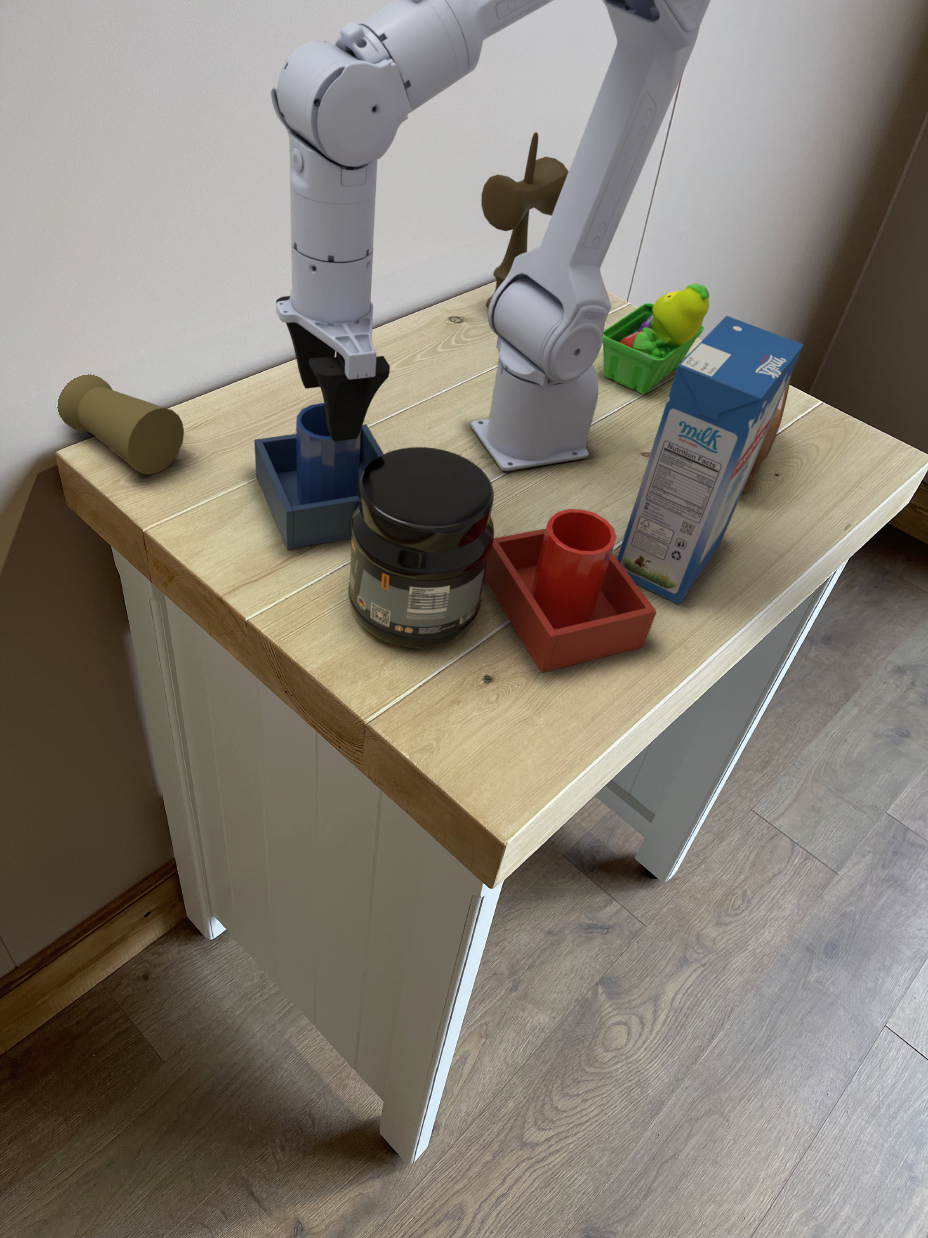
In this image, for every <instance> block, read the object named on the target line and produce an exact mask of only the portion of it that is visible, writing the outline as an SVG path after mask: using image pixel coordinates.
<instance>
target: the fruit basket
mask: <svg viewBox="0 0 928 1238" xmlns="http://www.w3.org/2000/svg"><path fill="white" fill-rule="evenodd" d="M709 299H710V292H709V290H708V288H707V287H706V286H705V285H704V284H699V283H691V284H688V285H687V286H686V287H685V288H684V289H681V290H676V291H674V290H673V291H671V292H668V293H665V294H663V295H661V296H660V297H658V298H657V299H656V300H655V302H654V303H649V302H645V303H643V304H641V305H640V306H639V307H637V308H636V309H634V310H633V311H631V312H630V313H628V314H627V315H625V316H624V317H622V318H620V319H619V320H618V321H616V322H615V323H614V324H612V325H610V326H609V327H607V328H604V331H603V341H602V352H603V353H602V354H603V377H605V378H607V379H611V380H613V381H614V382H615V383H618V384H620V385H622V386H624V387H626V388H629V389H631V390H634V391H637V392H638V393H639V394H641V395H642V394H643V395H645V394H647V393H648V392H649V391H650V390H651V389H652V388H653V387H655V386H656V385H657V384H659V383H660V382H661V380H662V379H665V378H666V377H667V376H669V375H670V374H671V372H672V371H675V370H677V368H678V365H679V364H680V363H681V362H682V361H683V360H684V359H685V358H686V357H687V355H688V353H689V351H690V349H691V348H692V346H693V345H694V343H695V342H696V340H697V339H698V338H699V337H700V336H701V334H702V333H703V332H704V330H705V326H704V325H703V323H704V319H705V317H706V315H707V314H708V312H709V309H710V300H709Z"/></svg>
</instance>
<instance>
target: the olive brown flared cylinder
mask: <svg viewBox="0 0 928 1238" xmlns="http://www.w3.org/2000/svg"><path fill="white" fill-rule="evenodd" d="M91 374H92V373H90V375H89V374H88V375H82V376H79V377H77V378H74V379H73V380H71V381H70V382H69V383H67V385H66V386H65V387H64V389H63V390H62V392H61V394H60V396H59V399H58V407H57V408H58V412H59V414H58V416H59V415H60V416H59V417H60V419H61V418H62V419H61V421H62V422H63V423H64V424H65V425H67V426H69V427H70V428H72V429H73V430H75V431H80V432H84V433H90V434H91V435H93V436H94V437H95V438H96V439H98V440H99V441H100V442H101V443H103V444H104V445H105V446H106V447H107V448H109V449H110V450H111V451H112V452H113V453H114V454H116V455H117V456H118V457H119V458H121V459H122V460H123V461H125V462H126V464H128V465H130V466H131V467H132V468H133V469H134V470H135V471H137V472H138V473H140V474H143V475H154V474H158V473H160V472H162V471H164V470H165V469H167V468H168V467H169V466H170V465H171V464H172V463H173V462H174V461H175V460H176V458H177V456H178V455H179V453H180V451H181V448H182V446H183V442H184V435H185V430H184V429H185V428H184V423H183V421H182V419H181V417H180V415H179V414H178V413H176V411H174V410H173V409H171V408H167V407H164V406H161V405H158V404H156V403H152V402H150V401H146V400H143V399H140V398H137V397H135V396H131V395H128V394H125V393H122V392H120V391H116V390H113V388H112V386H111V385H110V384H109V382H107V381H106V380H105V379H103V378H102V377H100V376H99V377H98V375H97V376H95V375H96V374H93V375H91ZM57 408H56V409H57ZM58 412H57V413H58Z"/></svg>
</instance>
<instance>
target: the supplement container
mask: <svg viewBox="0 0 928 1238" xmlns="http://www.w3.org/2000/svg"><path fill="white" fill-rule="evenodd" d="M494 500H495V490H494V487H493V484H492V482H491V480H490V478H489V476H487V474H486V472H485V471H483V470H482V469H481V468H480V467H479V466H478V465H476V464H475V462H473V461H471V460H470V459H468V458H466V457H464V456H462V455H460V454H458V453H454V452H452V451H449V450H446V449H440V448H436V447H429V446H428V447H426V446H413V447H411V446H410V447H404V448H398V449H393V450H391V451H388V452H385V453H383V455H381V456H379V457H377V458H376V459H374V460H373V461H372V462H370V463H369V464H368V465H367V466H366V468H365V469H364V471H363V472H362V474H361V477H360V482H359V498H358V501H357V503H356V504H355V506H354V508H353V511H352V514H351V519H350V531H351V538H350V539H351V540H350V560H349V561H350V564H349V565H350V566H349V581H348V586H347V597H348V604H349V607H350V610H351V611H352V614H353V617H354V618H355V619H356V621H357V622H358V623H359V625H360V626H362V627H363V628H364V630H366V631H367V632H368V633H370V634H371V635H373V636H374V637H376V638H377V639H379V640H381V641H384V642H387V643H389V644H392V645H395V646H399V647H403V648H412V649H425V648H432V647H433V648H434V647H439V646H443V645H445V644H448V643H450V642H453V641H455V640H456V639H458V638H460V637H461V636H463V635H464V634H465V633H466V632H467V631H468V630H469V629H470V628H471V627H472V626H473V625H474V623H475V622H476V620H477V618H478V616H479V614H480V610H481V606H482V595H483V589H484V584H485V574H486V568H487V563H488V557H489V552H490V550H491V548H492V545H493V540H494V538H495V525H494V521H493V518H492V512H493V506H494Z"/></svg>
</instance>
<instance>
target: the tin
mask: <svg viewBox="0 0 928 1238" xmlns="http://www.w3.org/2000/svg"><path fill="white" fill-rule="evenodd" d="M790 384H791V382H790V380H789V381H788V383H787V385H786V388H785V390H784V393H783V395H782V397H781V400H780V402H779V405H778V407H777V409H776V412H775V414H774V417H773V419H772V421H771V424H770V426H769V429H768V431H767V433H766V436H765V438H764V441H763V443H762V445H761V448H760V450H759V453H758V455H757V457H756V460H755V462H754V465H753V467H752V469H751V472H750V474H749V477H748V479H747V481H746V484H745V486H744V489H743V491H742V493H744V492H746V493H747V492H748V491H749V490H750V489H751V488H752V486H753V485H754V481H755V478H756V476H757V473H758V471H759V469H760V467H761V466H762V465H763V462H764V461H766V458H767V457H768V455H769V454H770V452H771V449H772V447H773V444H774V442H775V440H776V438H777V434H778V432H779V429H780V427H781V423H782V419H783V417H784V412H785V407H786V404H787V399H788V395H789V389H790Z"/></svg>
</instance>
